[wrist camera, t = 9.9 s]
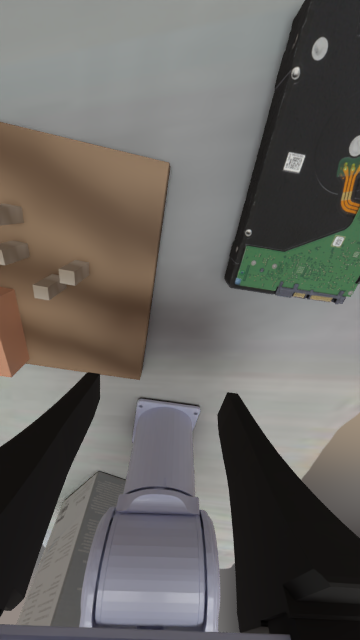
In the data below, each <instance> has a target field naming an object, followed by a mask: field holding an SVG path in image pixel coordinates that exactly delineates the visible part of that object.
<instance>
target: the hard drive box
mask: <svg viewBox="0 0 360 640" xmlns="http://www.w3.org/2000/svg"><path fill="white" fill-rule="evenodd" d="M125 482H126V480H123V479H120V478H117V477H115V476H112V475H109V474H105V473H103V472H100V471H99V472H97V473H96V474H95V475H94V476H93V477H91V478H90V479H89V480H88V481H87V482H86V483H85V484H84V485H82V486H81V487H80V488H79V489H78V490H77V491H75V492H74V493H73V494H72V495H71V496H69V498H68V499H66V500H65V501H64V502H63V504H62V506H61V509H60V512H59V514H58V517H57V519H56V522H55V524H54V527H53V530H52V532H51V535H50V538H49V540H48V543H47V545H46V548H45V551H44V553H43V556H42V559H41V561H40V564H39V566H38V569H37V572H36V574H35V577H34V580H33V582H32V585H31V588H30V590H29V593H28V595H27V598H26V601H25V603H24V606H23V609H22V611H21V614H20V616H19V619H18V622H17V624H16V625H33V626H61V627H79V624H80V617H81V594H82V587H83V581H84V575H85V570H86V565H87V561H88V557H89V553H90V549H91V545H92V542H93V538H94V535H95V532H96V529H97V526H98V524H99V522H100V520H101V518H102V516H103V515H104V514H105V513H106V512H107V510H108V509H109V508H110V507H116V506H117V502H118V497H119V495H120V494H123V492H124V487H125Z"/></svg>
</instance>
